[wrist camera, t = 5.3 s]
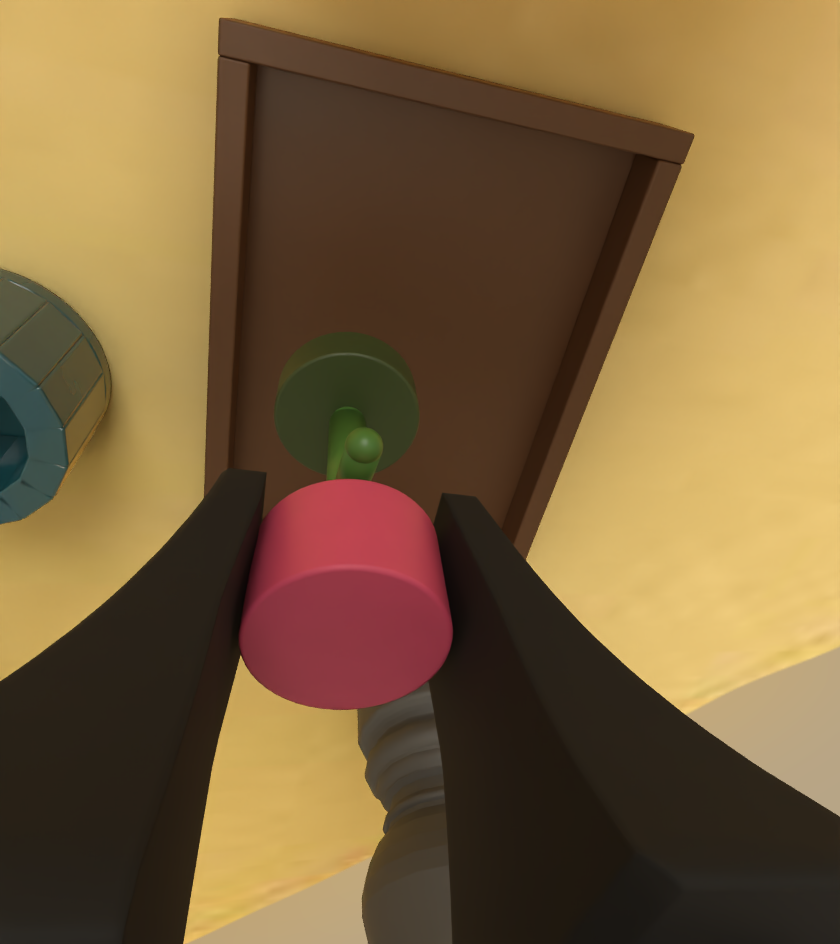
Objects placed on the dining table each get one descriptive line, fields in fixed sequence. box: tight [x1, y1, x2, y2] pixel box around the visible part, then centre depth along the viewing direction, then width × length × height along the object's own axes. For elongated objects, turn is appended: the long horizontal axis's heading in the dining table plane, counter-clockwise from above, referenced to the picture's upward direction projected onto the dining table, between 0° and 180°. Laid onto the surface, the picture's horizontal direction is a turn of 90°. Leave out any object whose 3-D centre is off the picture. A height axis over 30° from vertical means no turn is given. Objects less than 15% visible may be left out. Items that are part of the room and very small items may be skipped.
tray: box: [204, 18, 694, 560], centre depth 20 cm, size 16×11×2 cm
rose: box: [238, 332, 453, 710], centre depth 12 cm, size 4×3×8 cm
